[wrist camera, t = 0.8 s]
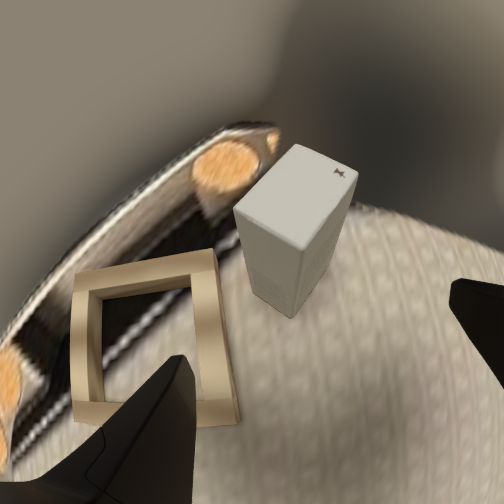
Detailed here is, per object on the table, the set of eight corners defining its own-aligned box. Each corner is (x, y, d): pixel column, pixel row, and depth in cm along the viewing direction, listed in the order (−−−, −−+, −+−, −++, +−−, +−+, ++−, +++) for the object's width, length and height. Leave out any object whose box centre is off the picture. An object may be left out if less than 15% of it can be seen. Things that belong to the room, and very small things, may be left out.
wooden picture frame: (240, 420, 19) (236, 424, 16) (90, 421, 18) (74, 421, 16) (217, 261, 25) (212, 248, 23) (88, 283, 25) (75, 273, 23)
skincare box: (289, 242, 26) (296, 139, 15) (328, 266, 24) (362, 171, 14) (249, 293, 24) (229, 206, 13) (290, 321, 22) (306, 252, 12)
